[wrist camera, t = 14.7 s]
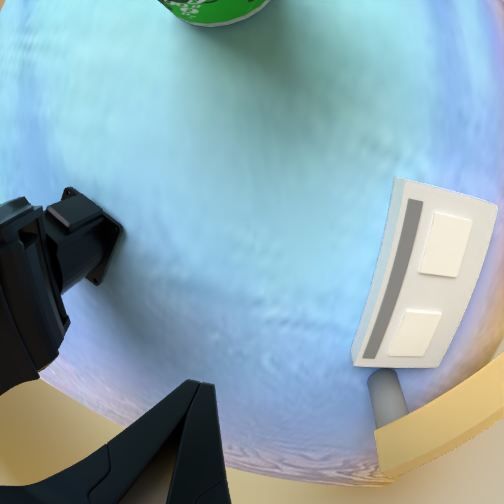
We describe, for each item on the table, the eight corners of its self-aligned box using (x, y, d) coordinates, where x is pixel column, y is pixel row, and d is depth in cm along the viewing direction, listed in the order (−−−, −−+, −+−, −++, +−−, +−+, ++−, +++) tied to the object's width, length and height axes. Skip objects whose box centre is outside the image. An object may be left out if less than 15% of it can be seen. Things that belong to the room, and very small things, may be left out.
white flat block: (430, 353, 21) (438, 369, 19) (350, 349, 22) (354, 368, 20) (483, 199, 16) (500, 207, 14) (394, 176, 17) (407, 181, 15)
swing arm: (375, 393, 23) (390, 480, 14) (362, 378, 23) (378, 471, 14) (521, 290, 18) (578, 350, 9) (517, 269, 17) (582, 328, 8)
